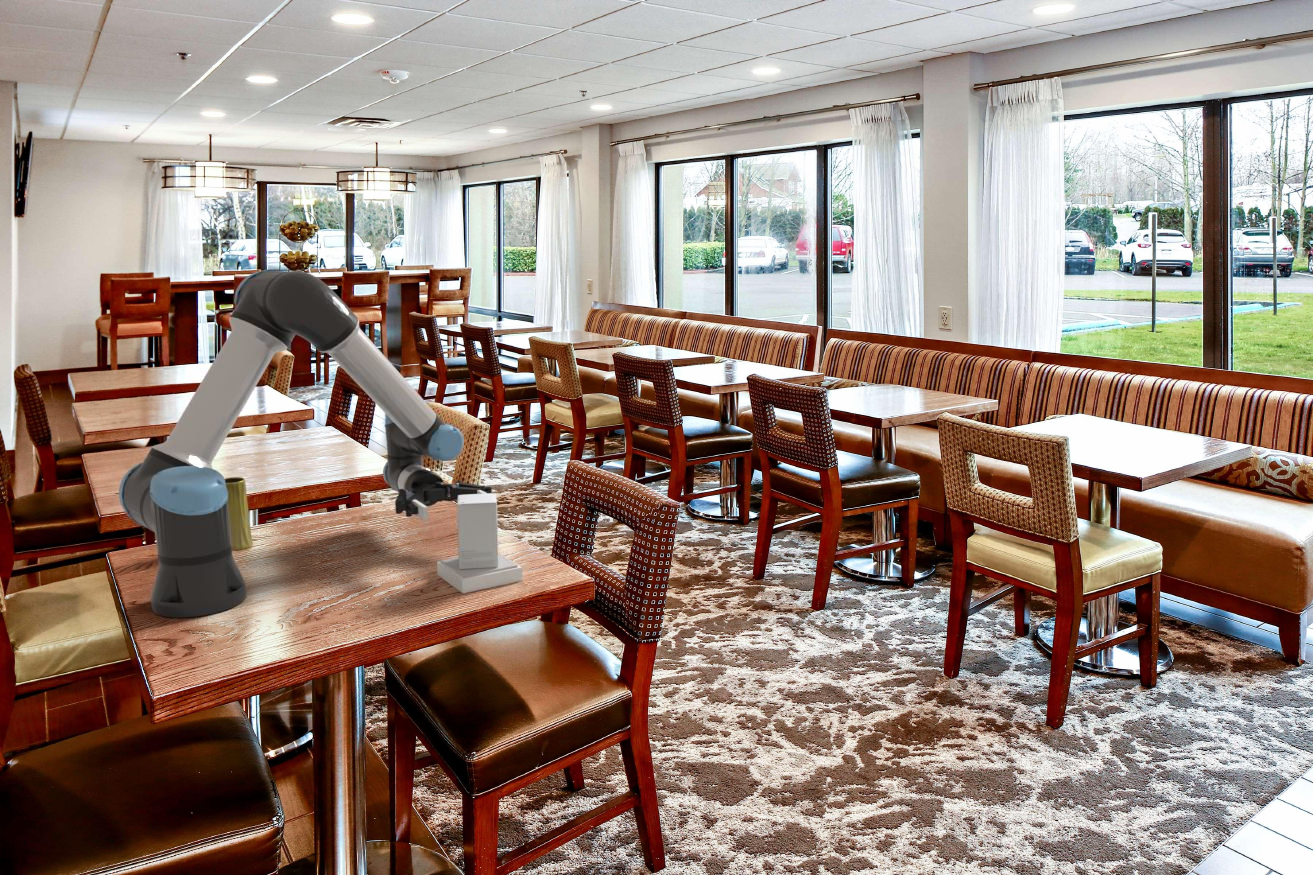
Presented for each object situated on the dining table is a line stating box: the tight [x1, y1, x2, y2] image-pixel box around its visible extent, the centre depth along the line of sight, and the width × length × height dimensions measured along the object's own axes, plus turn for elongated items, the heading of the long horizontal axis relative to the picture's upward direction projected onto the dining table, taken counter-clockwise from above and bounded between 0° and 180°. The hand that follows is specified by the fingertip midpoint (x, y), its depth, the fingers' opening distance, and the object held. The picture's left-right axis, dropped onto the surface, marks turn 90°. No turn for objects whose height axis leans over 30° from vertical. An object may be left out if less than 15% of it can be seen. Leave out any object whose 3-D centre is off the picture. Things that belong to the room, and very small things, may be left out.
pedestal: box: [436, 552, 523, 594], centre depth 179 cm, size 12×12×3 cm
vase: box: [224, 476, 254, 551], centre depth 196 cm, size 6×6×14 cm
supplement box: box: [456, 492, 499, 569], centre depth 178 cm, size 7×7×13 cm
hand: (460, 508), depth 184 cm, fingers open, 13 cm apart
